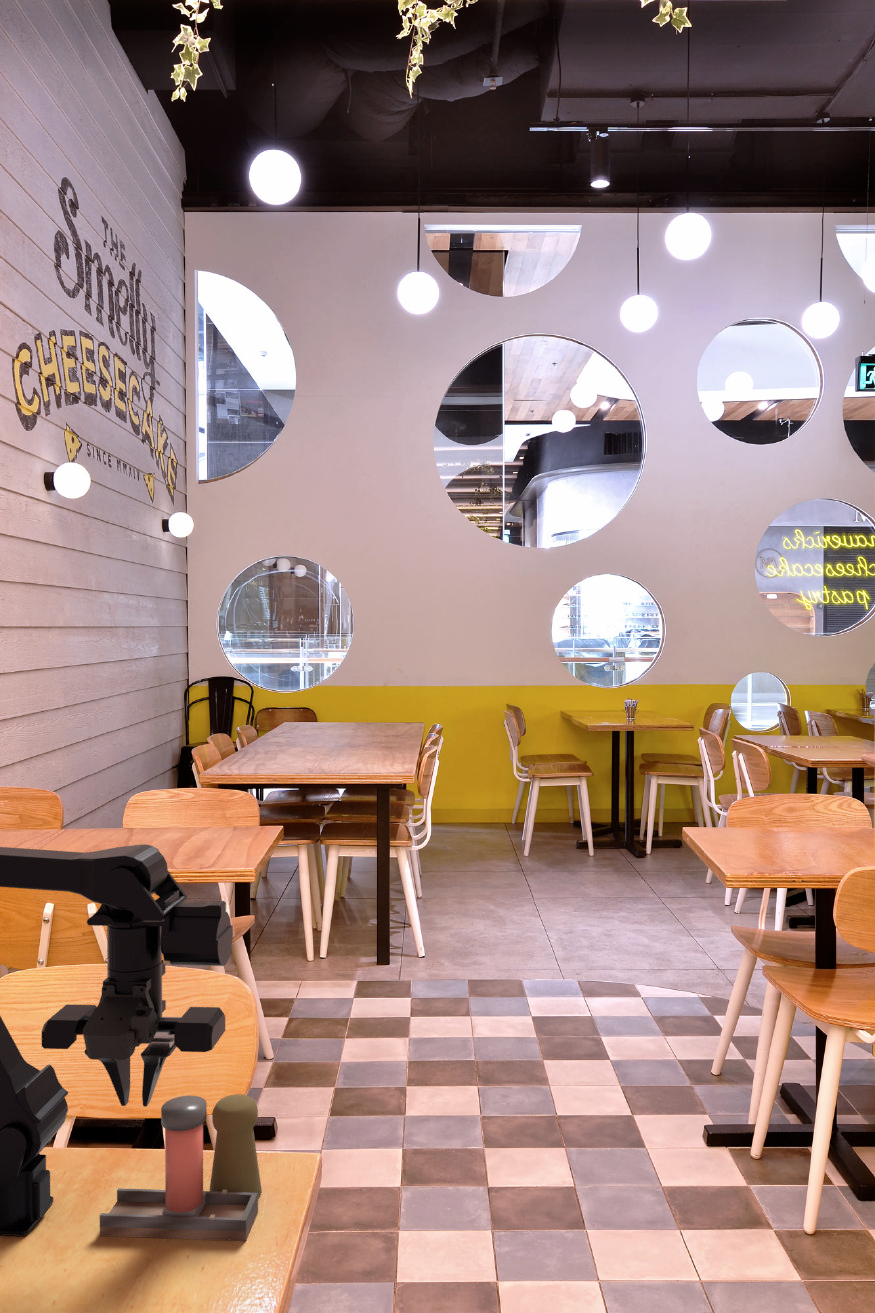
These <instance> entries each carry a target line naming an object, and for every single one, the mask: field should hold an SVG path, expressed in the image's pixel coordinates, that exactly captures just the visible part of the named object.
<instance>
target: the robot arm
mask: <svg viewBox="0 0 875 1313" xmlns="http://www.w3.org/2000/svg"><path fill="white" fill-rule="evenodd" d="M168 868H169V867H168V863H167V861H166V858H165V856H164V855H163V854H162V853H161V852H160V850H159V848H157V847H155V846H153V845H150V844H134V845H133V844H132V845H126V846H118V847H112V848H105V849H101V850H96V851H89V852H88V851H87V852H79V851H67V850H54V849H53V850H50V849H36V848H22V847H7V846H0V888H10V889H26V890H39V891H53V892H66V893H67V892H68V893H73V894H76V895H80V896H82V897H84V898H85V899H86V900H89V901H90V902H93V903H95V904H96V903H97V904H99V905H100V906H99V908H98V909H97V911H96V912H95V913H93V915H92V916H90V917H89V918H87V919H86V924H87V925H88V926H95V927H96V926H100V927H102V926H103V927H104V926H105V927H106V943H107V944H106V946H107V947H106V953H107V955H106V956H107V958H106V959H107V960H106V965H107V966H106V967H107V970H106V972H107V977H106V978H105V979H104V980H103V981H102V987H101V995H100V998H99V1001H98V1004H97V1006H96V1004H68V1003H67V1004H65V1005H64V1006H63V1007H62V1008H60V1009H59V1010H58V1011H56V1013H54V1014H53V1015H52V1016H51V1017H49V1019H47V1020H46V1021H45V1022H44V1024H43V1027H42V1029H41V1047H42V1048H43V1049H49V1050H68V1049H69V1048H70V1047H72V1045H74V1043H75V1042H76V1041H77V1040H78V1036H80V1035H81V1036H82V1037H83V1041H84V1046H85V1050H84V1054H85V1056H87V1058H88V1059H90V1060H98V1061H99V1062H101V1063H102V1065H103V1066H104V1069H105V1070H106V1072H107V1074H108V1076H109V1079H110V1081H111V1083H112V1086H113V1088H114V1091H115V1094H116V1096H117V1098H118V1101H119V1103H120V1105H121V1106H122V1107H126V1106H127V1105H128V1104H129V1102H130V1092H131V1057H132V1056H133V1055H134V1053H135V1051H136V1048H137V1047H139V1046H141V1044H142V1045H143V1044H144V1045H145V1044H147V1046H146V1047H145V1048H144V1050H143V1051H142V1052H141V1053H140V1056H141V1059H142V1061H143V1071H142V1072H143V1073H142V1074H143V1076H142V1091H141V1098H142V1099H141V1100H142V1106H143V1107H144V1108H145V1107H148V1106H149V1104H150V1103H151V1101H152V1098H153V1095H154V1092H155V1088H156V1086H157V1083H158V1080H159V1078H160V1075H161V1073H162V1069H163V1067H164V1064H165V1062H166V1060H167V1058H168V1057H170V1056H171V1055H172V1054H173V1052H174V1051H175V1050H176V1048H177V1049H178V1050H179V1051H180V1052H182V1053H184V1052H185V1053H186V1052H187V1053H188V1052H189V1053H207V1052H210V1051H213V1049H214V1048H215V1046H216V1044H217V1043H218V1042H219V1041H220V1039H221V1038H222V1036H223V1035H224V1033H225V1032H226V1014H225V1013H224V1011H223V1010H222V1009H221V1008H220V1007H219V1006H218V1007H217V1006H213V1007H211V1006H210V1007H209V1006H189V1008H187V1009H186V1011H185V1013H183V1015H182V1016H163V1013H164V1012H165V1010H166V1008H167V1006H166V1005H167V1004H166V1003H167V1002H166V1001H167V1000H165V999H163V976H164V975H165V974H166V963H163V962H162V960H163V961H165V962H169V963H170V965H172V966H186V967H187V966H189V967H193V966H195V967H198V966H199V967H200V966H201V967H224V966H226V965H227V964H228V961H229V959H230V955H231V953H232V952H231V951H232V947H233V946H232V945H233V938H234V936H233V935H234V928H233V925H232V923H231V918H230V915H229V913H228V911H227V902H226V901H225V900H212V901H209V902H208V901H207V902H205V901H204V902H202V901H201V902H200V901H199V902H196V901H193V902H192V901H187V900H188V896H187V894H186V893H185V891H184V890H183V888H181V886H180V884H179V883H178V882H177V880H175V878H174V877H173V876H172V874H171V873H170V872H169V870H168ZM154 894H155V895H156V896H157V899H155V898H154V897H153V895H154ZM186 901H187V902H186ZM68 1095H69V1092H68V1090H67V1089H65V1088H64V1087H63V1086H62V1084H61V1083H60V1081H59V1078H58V1077H57V1073H56V1070H55V1068H54V1067H53V1066H52V1065H51V1064H47V1065H46V1066H44V1067H43V1068H42V1069H41V1070H40V1069H38V1068H36V1067H35V1066H33V1065H32V1064H30V1063H28V1062H27V1061H26V1060H25V1058H24V1057H23V1056H22V1054H21V1052H20V1050H19V1048H18V1046H17V1044H16V1042H15V1040H14V1038H13V1037H12V1035H11V1033H10V1031H9V1029H8V1028H7V1025H6V1024H5V1022H4V1020H3V1018H2V1016H1V1015H0V1236H19V1237H21V1236H26V1235H29V1233H30V1232H31V1230H33V1228H34V1227H35V1225H36V1224H37V1223H38V1222H39V1220H40V1219H42V1217H43V1215H44V1214H45V1213H46V1212H47V1211H48V1209H49V1208H50V1207H51V1205H52V1204H53V1203H54V1197H53V1196H52V1195H51V1172H50V1170H49V1169H47V1155H46V1154H41V1152H42V1151H43V1149H45V1147H46V1146H48V1145H49V1144H50V1143H51V1141H52V1139H53V1137H54V1136H55V1135H56V1134H57V1132H58V1131H60V1129H61V1128H62V1126H63V1125H64V1123H65V1122H66V1118H67V1114H68V1112H69V1106H68V1103H67V1099H66V1097H67V1096H68Z"/></svg>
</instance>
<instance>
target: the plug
mask: <svg viewBox="0 0 875 1313" xmlns="http://www.w3.org/2000/svg"><path fill="white" fill-rule="evenodd" d="M207 1106H208V1105H207V1101H206V1099H204V1098H203V1097H202V1096H198V1095H181V1096H177V1097H174V1098H171V1099H169V1100H168V1101H166V1102H165V1103H164V1104H163V1105H162V1106H161V1110H160V1112H161V1114H160V1117H161V1118H160V1119H161V1121H160V1123H161V1126H162V1127H163V1129H165V1130H164V1134H165V1135H164V1137H165V1138H164V1139H165V1140H164V1146H165V1147H164V1148H165V1150H164V1151H165V1152H164V1153H165V1155H164V1159H165V1160H164V1162H165V1164H164V1166H165V1168H164V1169H165V1170H164V1171H165V1172H164V1173H165V1176H164V1178H165V1179H164V1180H165V1182H164V1183H165V1186H164V1187H165V1189H164V1190H165V1200H166V1206H165V1207H164V1209H163V1215H170V1216H199V1215H200V1213H201V1211H202V1209H203V1207H204V1205H205V1203H206V1192H203V1191H204V1123H205V1122H206V1120H207V1114H208V1112H207V1111H208V1110H207Z"/></svg>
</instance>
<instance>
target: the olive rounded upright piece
mask: <svg viewBox="0 0 875 1313" xmlns="http://www.w3.org/2000/svg"><path fill="white" fill-rule="evenodd" d="M258 1117H259V1109H258V1104H257V1103H256V1100H255V1099H254V1098H253V1097H251V1096H249V1095H247V1094H241V1093H239V1094H230V1095H227V1096H224V1097H222V1098H221V1099H220V1100H218V1101H217V1102H216V1104H215V1105H214V1107H213V1109H212V1113H211V1118H212V1119H211V1120H212V1125H213V1128H214V1129H215V1131H216V1135H215V1136H216V1137H215V1143H214V1144H215V1145H214V1152H213V1153H214V1154H213V1159H212V1160H213V1161H212V1170H211V1176H210V1183H209V1184H210V1186H209V1191H216V1192H222V1191H223V1189H225V1190H227V1192H247V1193H258V1200H259V1199H260V1198H261V1196H262V1194H261V1193H263V1192H262V1190H263V1189H262V1184H261V1176H260V1169H259V1161H258V1154H257V1148H256V1147H257V1146H256V1141H255V1140H256V1139H255V1132H254V1127H255V1126H256V1124H257V1122H258Z"/></svg>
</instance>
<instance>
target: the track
mask: <svg viewBox="0 0 875 1313" xmlns="http://www.w3.org/2000/svg"><path fill="white" fill-rule="evenodd" d="M203 1192H206V1203H205V1205H204V1207H203V1209H202V1211H201V1213H200V1215H199V1216H170V1215H163V1209H164V1207H165V1206H166V1200H165V1189H153V1188H152V1189H150V1188H149V1189H147V1188H124V1187H123V1188H121V1187H118V1188H117V1190H116V1202H115V1203H114V1205H113V1207H112V1208H111V1209H110V1210H109V1212H107V1213H106V1212H105V1213H104V1212H103V1213H102V1212H101V1213H100V1214H99V1236H100V1237H122V1238H123V1237H126V1238H129V1237H130V1238H153V1239H154V1238H155V1239H179V1240H180V1239H182V1240H183V1239H184V1240H186V1239H187V1240H210V1241H211V1240H212V1241H213V1240H214V1241H237V1242H239V1241H240V1242H241V1241H242V1242H243V1241H244V1242H247V1240H248V1238H249V1235H250V1233H251V1231H252V1228H253V1226H254V1223H255V1221H256V1218H257V1216H258V1214H259V1199H258V1193H247V1192H227V1190H225V1189H223V1191H222V1192H216V1191H210V1190H203Z"/></svg>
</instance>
